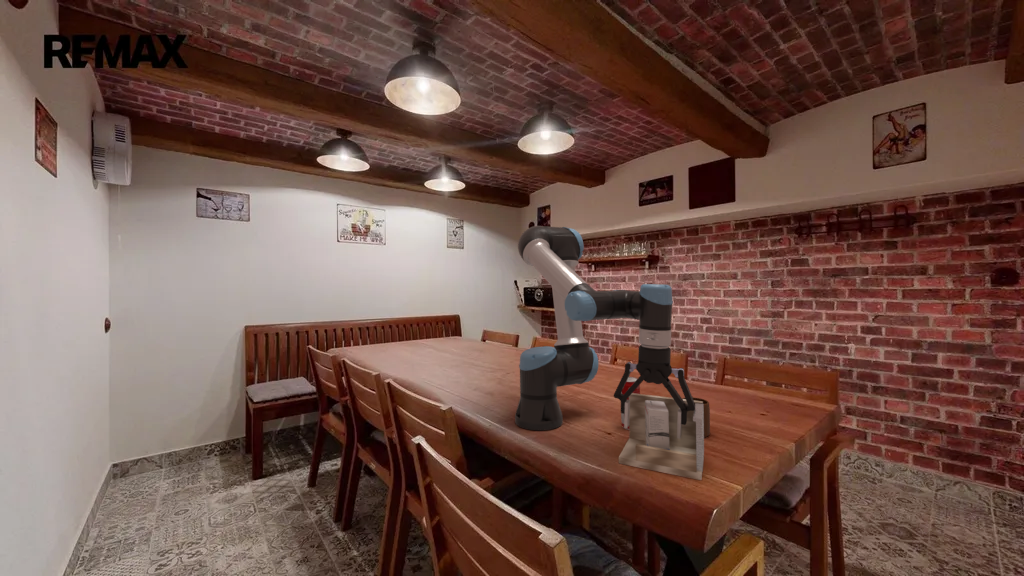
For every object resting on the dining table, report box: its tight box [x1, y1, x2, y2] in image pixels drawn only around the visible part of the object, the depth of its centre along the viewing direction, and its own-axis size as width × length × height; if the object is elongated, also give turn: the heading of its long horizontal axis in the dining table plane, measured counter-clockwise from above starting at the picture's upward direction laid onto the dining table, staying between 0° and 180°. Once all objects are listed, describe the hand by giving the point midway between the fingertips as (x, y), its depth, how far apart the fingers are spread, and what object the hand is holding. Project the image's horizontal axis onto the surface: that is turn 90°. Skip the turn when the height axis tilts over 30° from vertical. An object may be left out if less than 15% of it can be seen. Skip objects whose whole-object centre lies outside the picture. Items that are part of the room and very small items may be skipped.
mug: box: [681, 395, 711, 438], centre depth 112 cm, size 12×8×9 cm, turn 166°
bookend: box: [693, 403, 705, 473], centre depth 90 cm, size 2×12×12 cm, turn 152°
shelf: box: [618, 393, 703, 481], centre depth 94 cm, size 18×14×14 cm
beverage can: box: [620, 376, 641, 431], centre depth 115 cm, size 6×6×15 cm
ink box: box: [645, 400, 670, 450], centre depth 95 cm, size 9×5×12 cm, turn 166°
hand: (652, 431), depth 95 cm, fingers open, 12 cm apart
